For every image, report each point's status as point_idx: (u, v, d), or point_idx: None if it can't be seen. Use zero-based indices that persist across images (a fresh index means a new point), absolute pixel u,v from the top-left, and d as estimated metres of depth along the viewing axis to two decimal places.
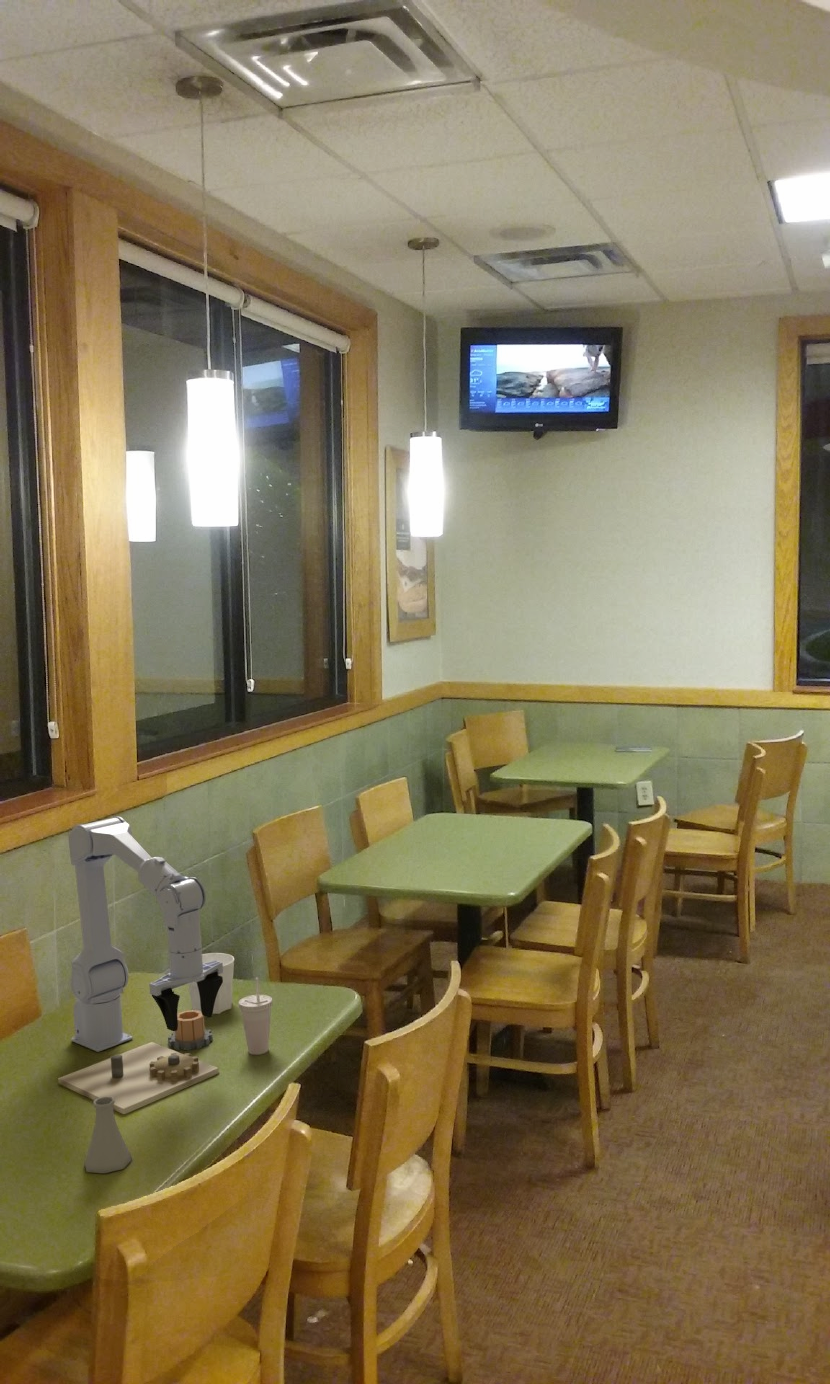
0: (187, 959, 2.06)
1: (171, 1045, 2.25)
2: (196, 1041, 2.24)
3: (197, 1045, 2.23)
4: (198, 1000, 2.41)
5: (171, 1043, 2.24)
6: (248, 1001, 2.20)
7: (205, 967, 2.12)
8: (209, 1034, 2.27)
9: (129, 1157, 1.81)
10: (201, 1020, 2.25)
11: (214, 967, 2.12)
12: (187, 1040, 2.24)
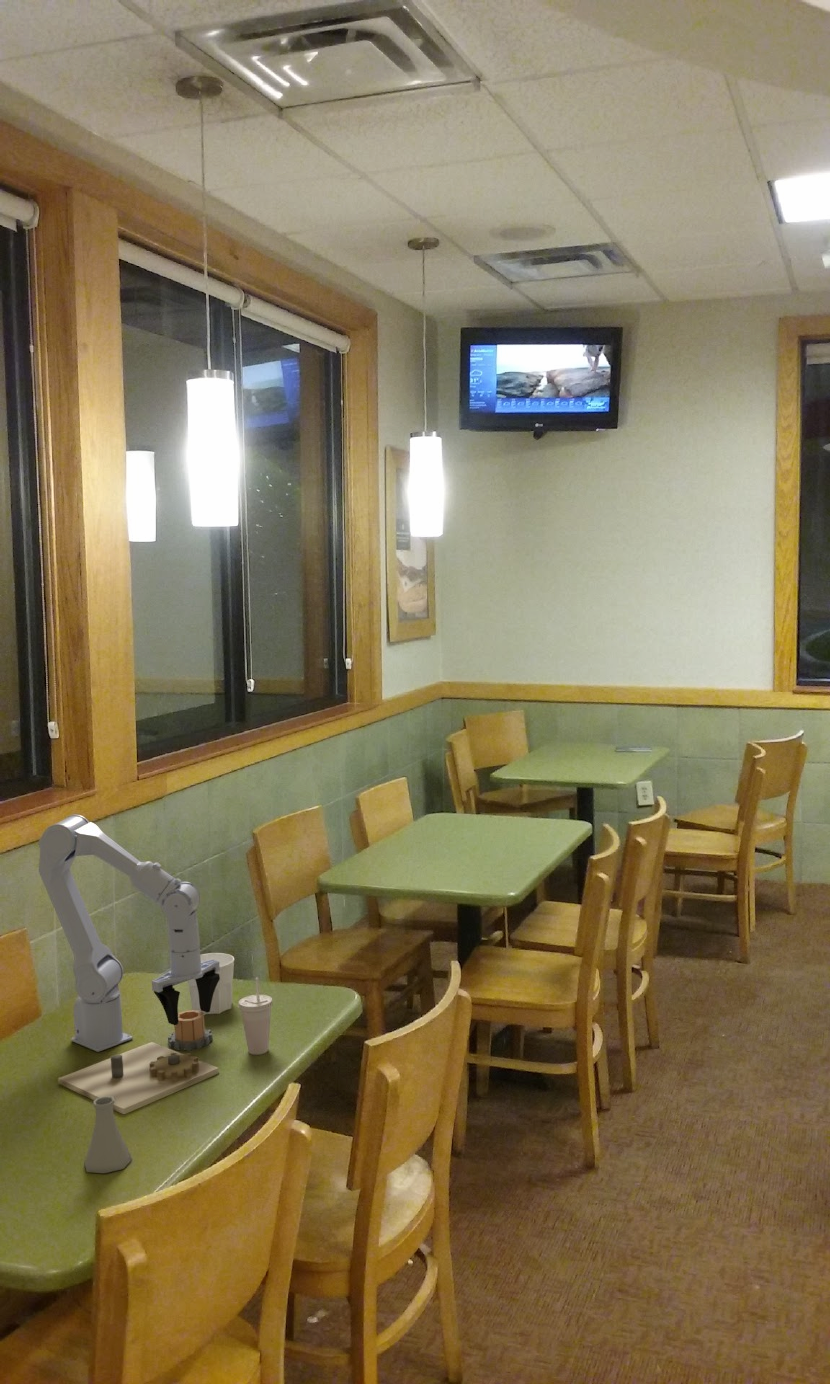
0: (186, 958, 2.23)
1: (171, 1045, 2.25)
2: (196, 1041, 2.24)
3: (197, 1045, 2.23)
4: (198, 1000, 2.41)
5: (171, 1043, 2.24)
6: (248, 1001, 2.20)
7: (203, 965, 2.28)
8: (209, 1034, 2.27)
9: (129, 1157, 1.81)
10: (201, 1020, 2.25)
11: (211, 965, 2.28)
12: (187, 1040, 2.24)
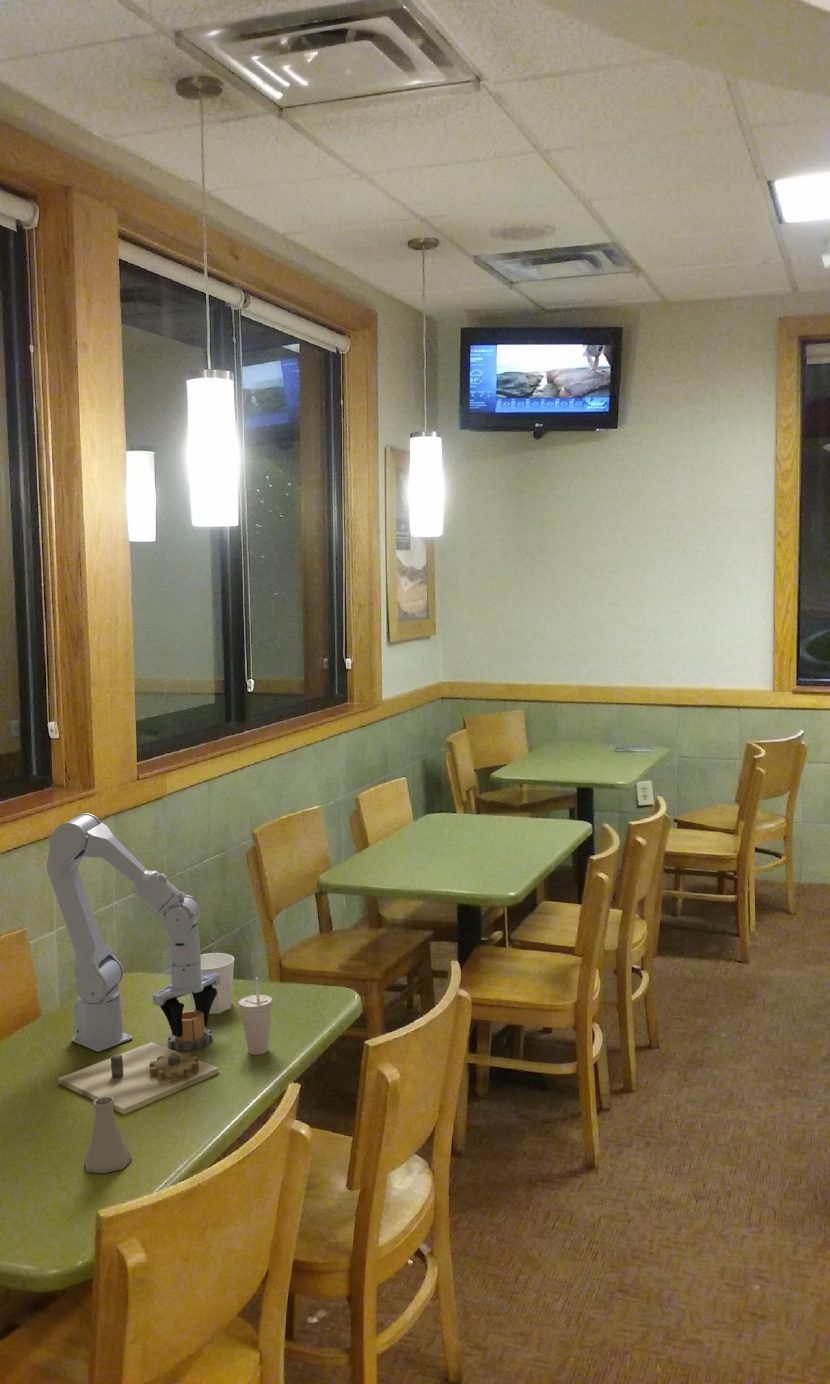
0: (187, 971, 2.23)
1: (171, 1045, 2.25)
2: (196, 1041, 2.24)
3: (197, 1045, 2.23)
4: None
5: (171, 1043, 2.24)
6: (248, 1001, 2.20)
7: (204, 979, 2.29)
8: (209, 1034, 2.27)
9: (129, 1157, 1.81)
10: (201, 1020, 2.25)
11: (212, 979, 2.29)
12: (187, 1040, 2.24)
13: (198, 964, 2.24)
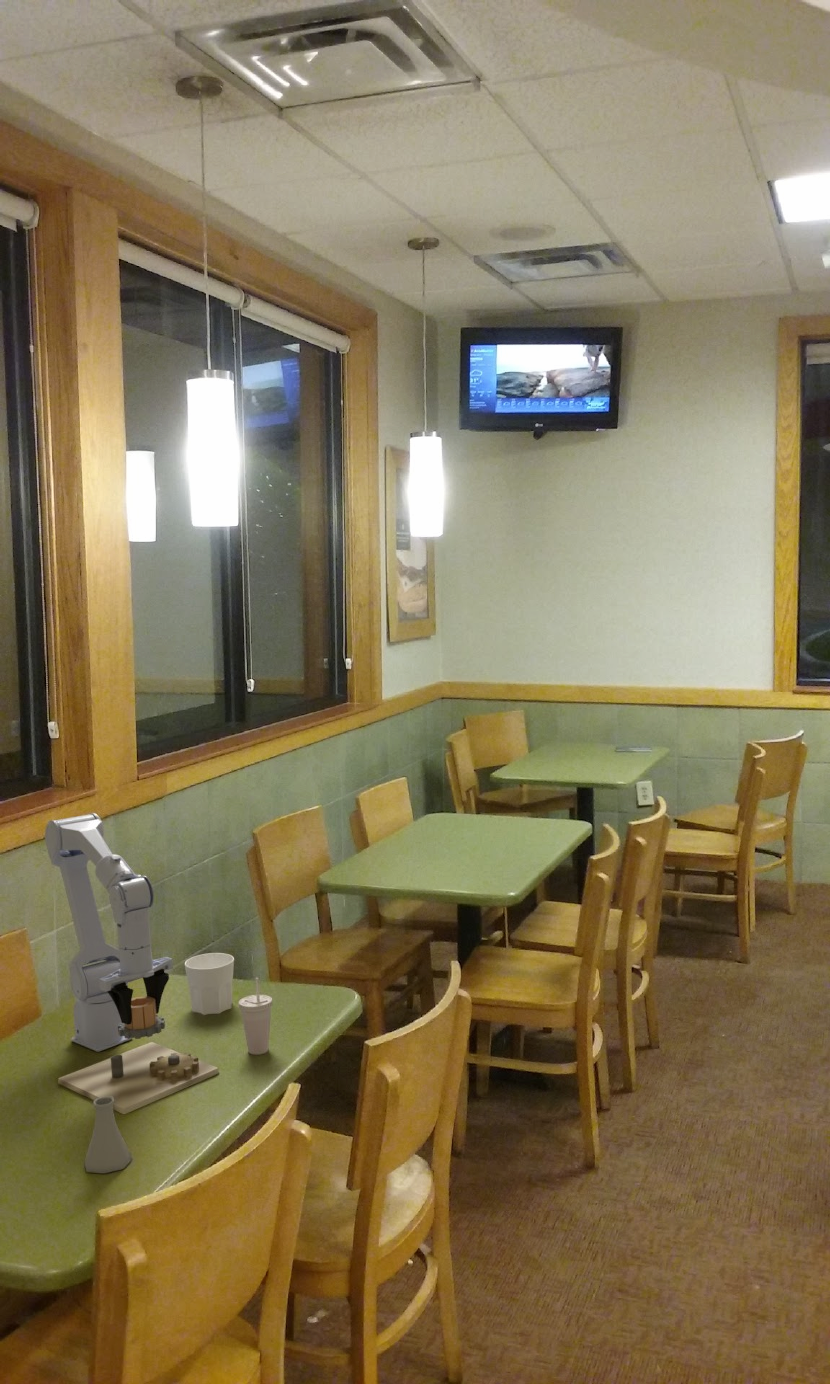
0: (136, 955, 2.11)
1: (121, 1034, 2.13)
2: (147, 1029, 2.12)
3: (148, 1033, 2.11)
4: (198, 1000, 2.41)
5: (120, 1031, 2.12)
6: (248, 1001, 2.20)
7: (155, 963, 2.17)
8: (161, 1021, 2.15)
9: (129, 1157, 1.81)
10: (152, 1007, 2.13)
11: (164, 963, 2.17)
12: (137, 1028, 2.12)
13: (148, 947, 2.13)
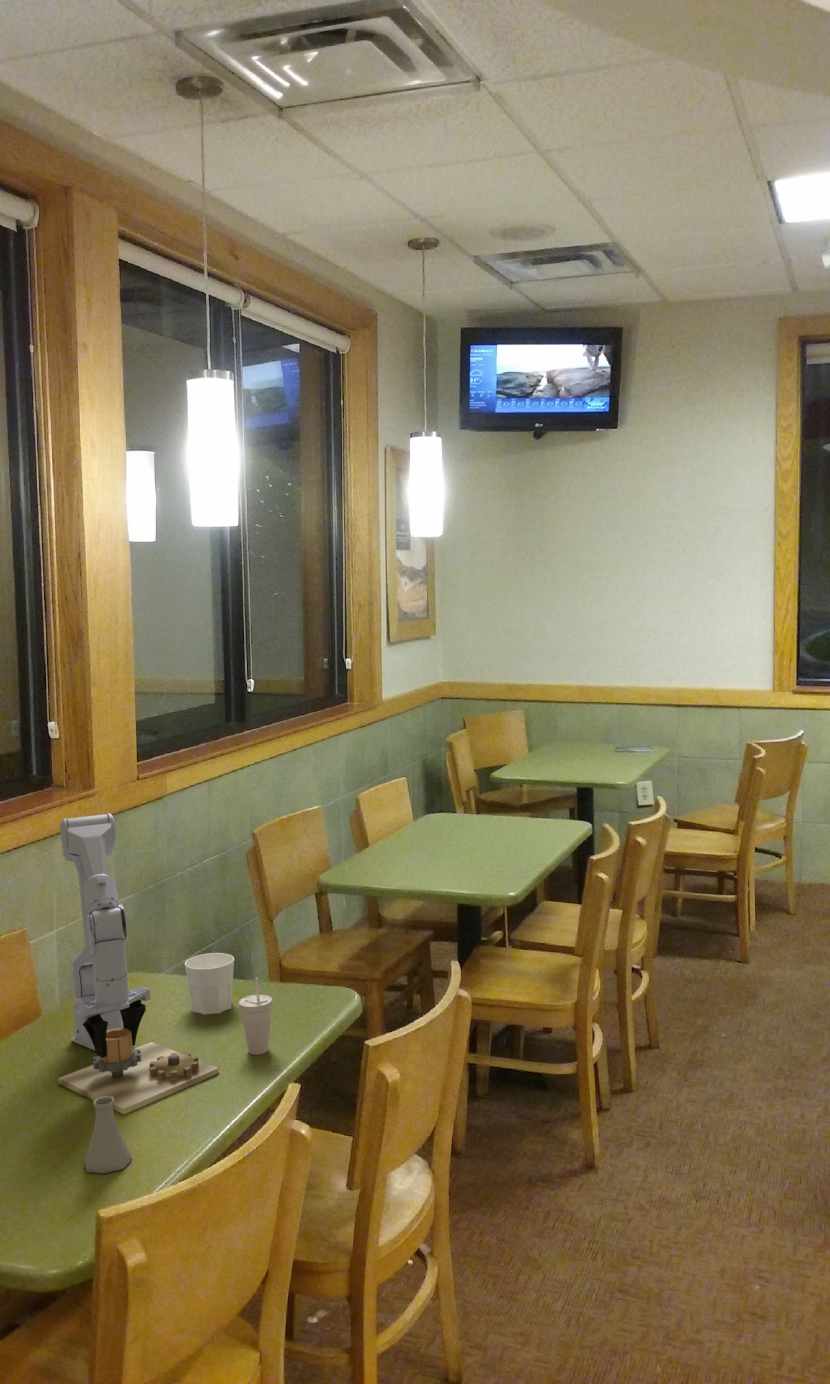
0: (112, 986, 2.06)
1: (95, 1067, 2.07)
2: (122, 1062, 2.07)
3: (123, 1067, 2.06)
4: (198, 1000, 2.41)
5: (95, 1065, 2.07)
6: (248, 1001, 2.20)
7: (132, 994, 2.12)
8: (137, 1054, 2.10)
9: (129, 1157, 1.81)
10: (128, 1039, 2.08)
11: (141, 994, 2.12)
12: (112, 1061, 2.07)
13: (124, 978, 2.07)
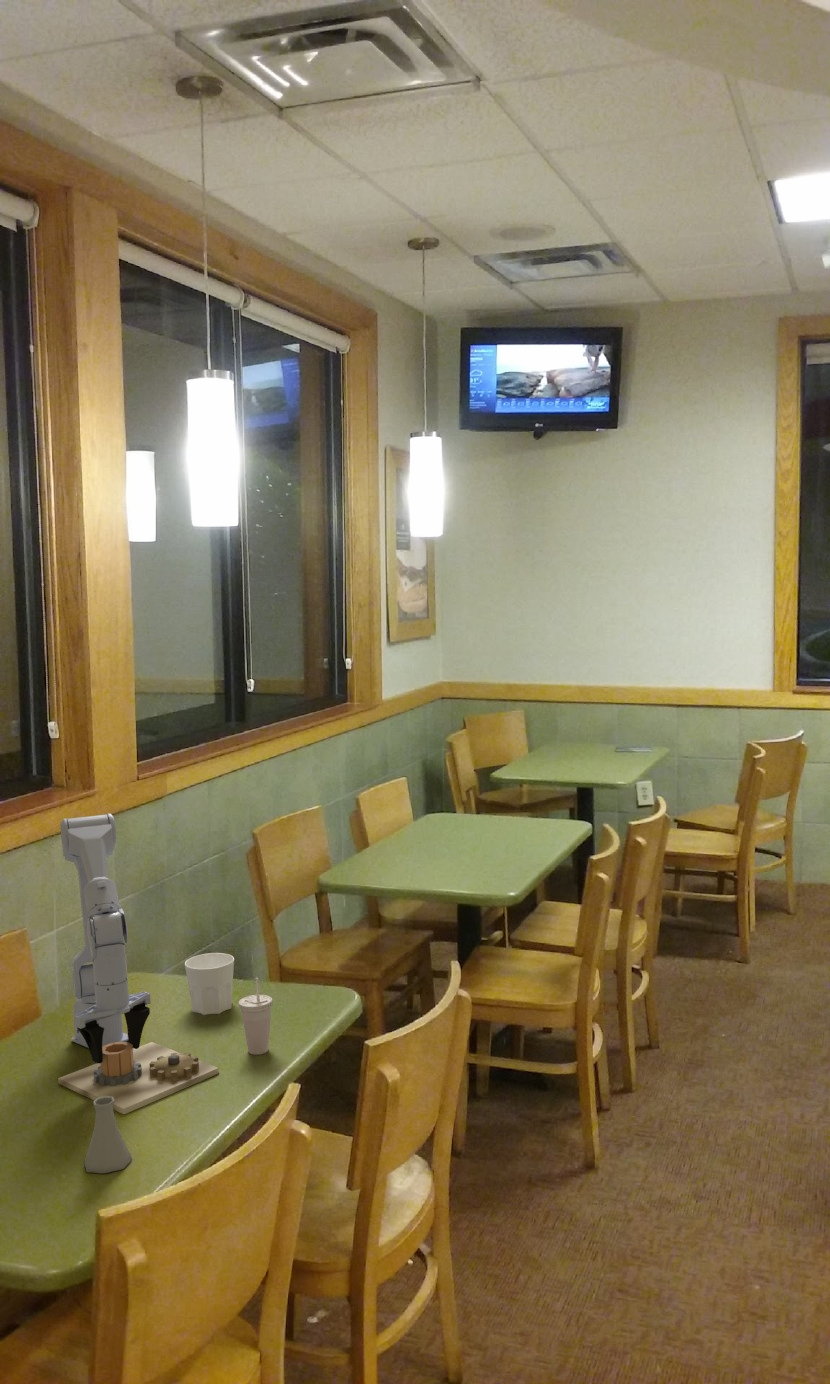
0: (112, 991, 2.06)
1: (96, 1080, 2.08)
2: (123, 1076, 2.07)
3: (124, 1081, 2.07)
4: (198, 1000, 2.41)
5: (96, 1078, 2.08)
6: (248, 1001, 2.20)
7: (132, 998, 2.12)
8: (138, 1068, 2.10)
9: (129, 1157, 1.81)
10: (129, 1053, 2.09)
11: (141, 998, 2.12)
12: (113, 1075, 2.07)
13: (124, 983, 2.07)
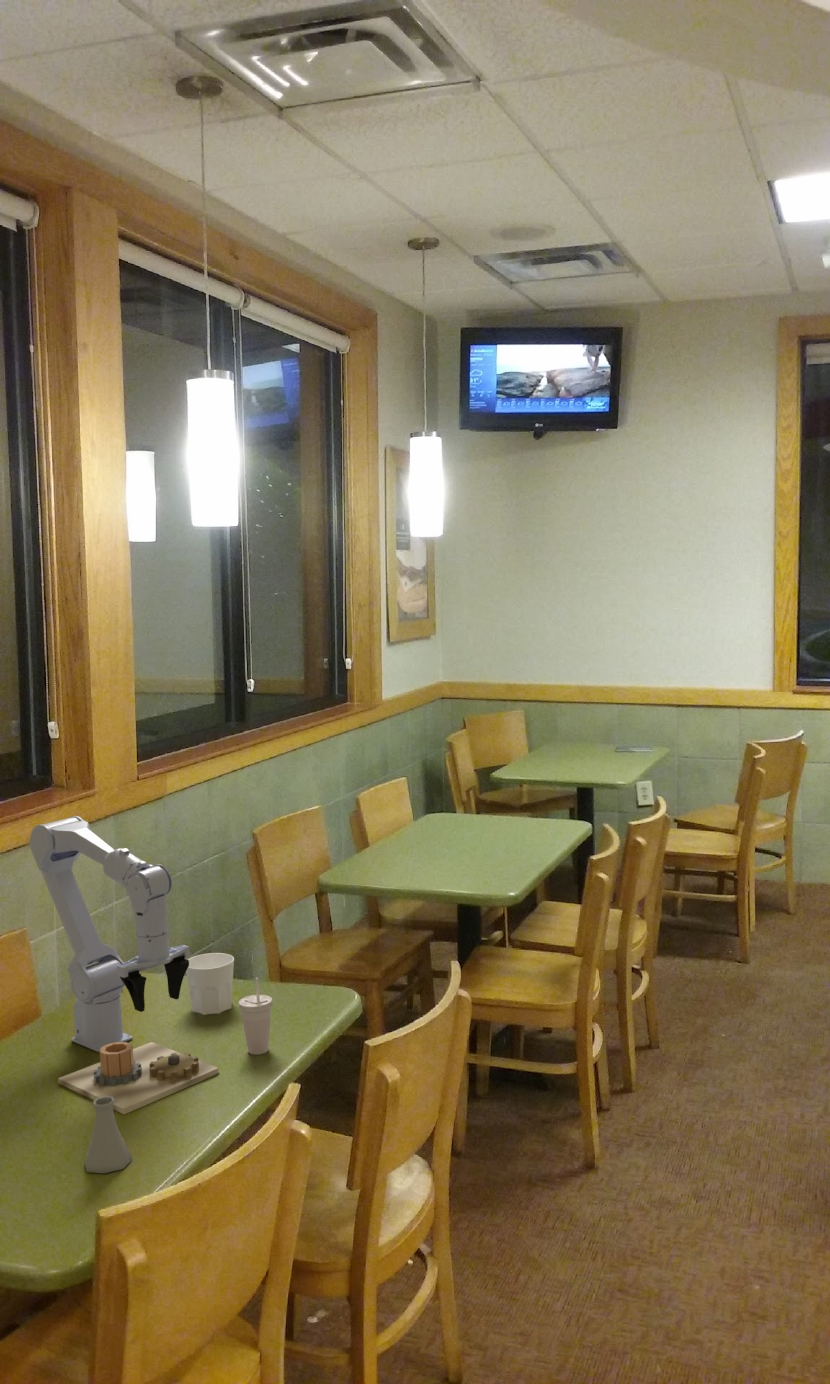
0: (153, 942, 2.15)
1: (96, 1080, 2.08)
2: (123, 1076, 2.07)
3: (124, 1081, 2.07)
4: (198, 1000, 2.41)
5: (96, 1078, 2.08)
6: (248, 1001, 2.20)
7: (172, 951, 2.21)
8: (138, 1068, 2.10)
9: (129, 1157, 1.81)
10: (129, 1053, 2.09)
11: (181, 951, 2.21)
12: (113, 1075, 2.07)
13: (165, 935, 2.17)
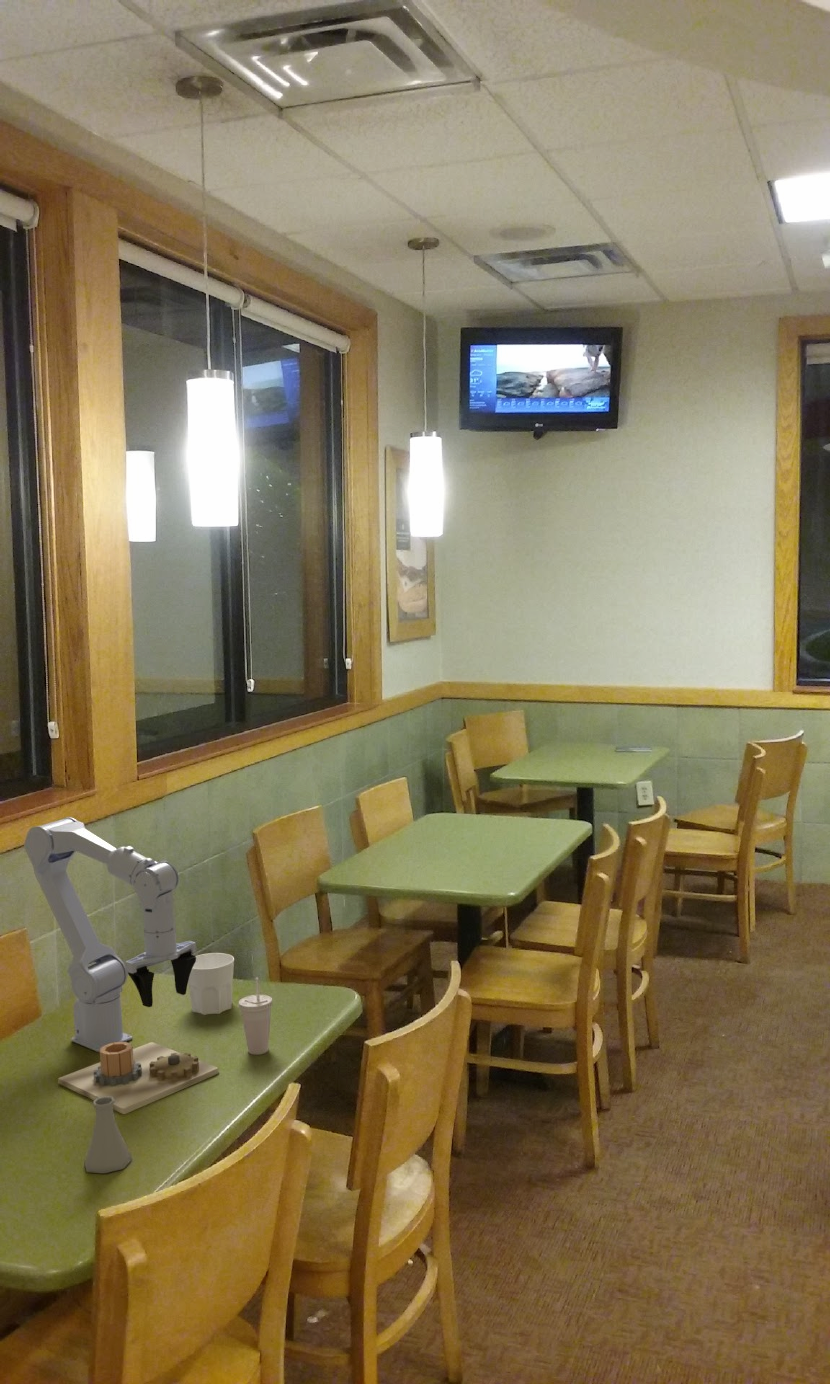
0: (161, 938, 2.17)
1: (96, 1080, 2.08)
2: (123, 1076, 2.07)
3: (124, 1081, 2.07)
4: (198, 1000, 2.41)
5: (96, 1078, 2.08)
6: (248, 1001, 2.20)
7: (179, 947, 2.23)
8: (138, 1068, 2.10)
9: (129, 1157, 1.81)
10: (129, 1053, 2.09)
11: (187, 947, 2.23)
12: (113, 1075, 2.07)
13: (173, 931, 2.18)
